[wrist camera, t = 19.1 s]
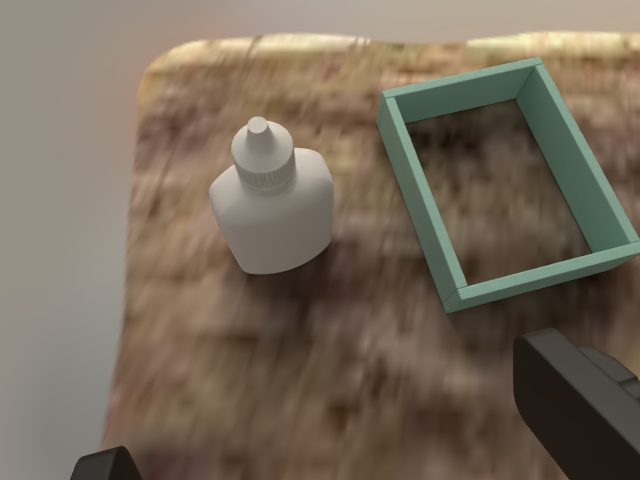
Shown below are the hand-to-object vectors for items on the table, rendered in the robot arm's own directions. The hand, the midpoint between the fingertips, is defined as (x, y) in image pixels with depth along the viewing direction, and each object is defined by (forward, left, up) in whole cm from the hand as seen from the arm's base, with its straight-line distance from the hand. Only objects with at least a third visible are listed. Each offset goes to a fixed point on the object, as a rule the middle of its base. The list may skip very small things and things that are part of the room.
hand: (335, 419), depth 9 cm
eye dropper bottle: (+10, 0, -16) cm, 19 cm away
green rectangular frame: (+10, -13, -16) cm, 23 cm away
